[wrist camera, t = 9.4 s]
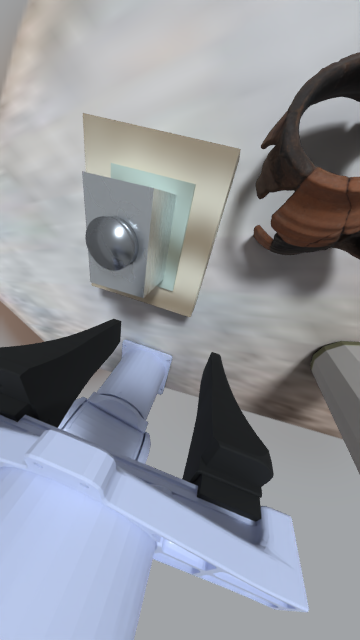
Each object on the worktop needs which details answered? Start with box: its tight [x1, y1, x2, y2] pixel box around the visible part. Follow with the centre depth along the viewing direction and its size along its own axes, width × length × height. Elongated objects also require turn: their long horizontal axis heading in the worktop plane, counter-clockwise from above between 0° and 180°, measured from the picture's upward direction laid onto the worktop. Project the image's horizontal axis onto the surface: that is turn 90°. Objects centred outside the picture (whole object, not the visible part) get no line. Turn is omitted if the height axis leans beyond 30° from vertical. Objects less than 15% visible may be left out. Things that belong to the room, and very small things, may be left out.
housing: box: [82, 171, 177, 298], centre depth 14 cm, size 7×4×6 cm, turn 168°
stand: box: [83, 113, 240, 317], centre depth 18 cm, size 14×12×3 cm
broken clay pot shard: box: [254, 53, 360, 259], centre depth 13 cm, size 12×10×8 cm
